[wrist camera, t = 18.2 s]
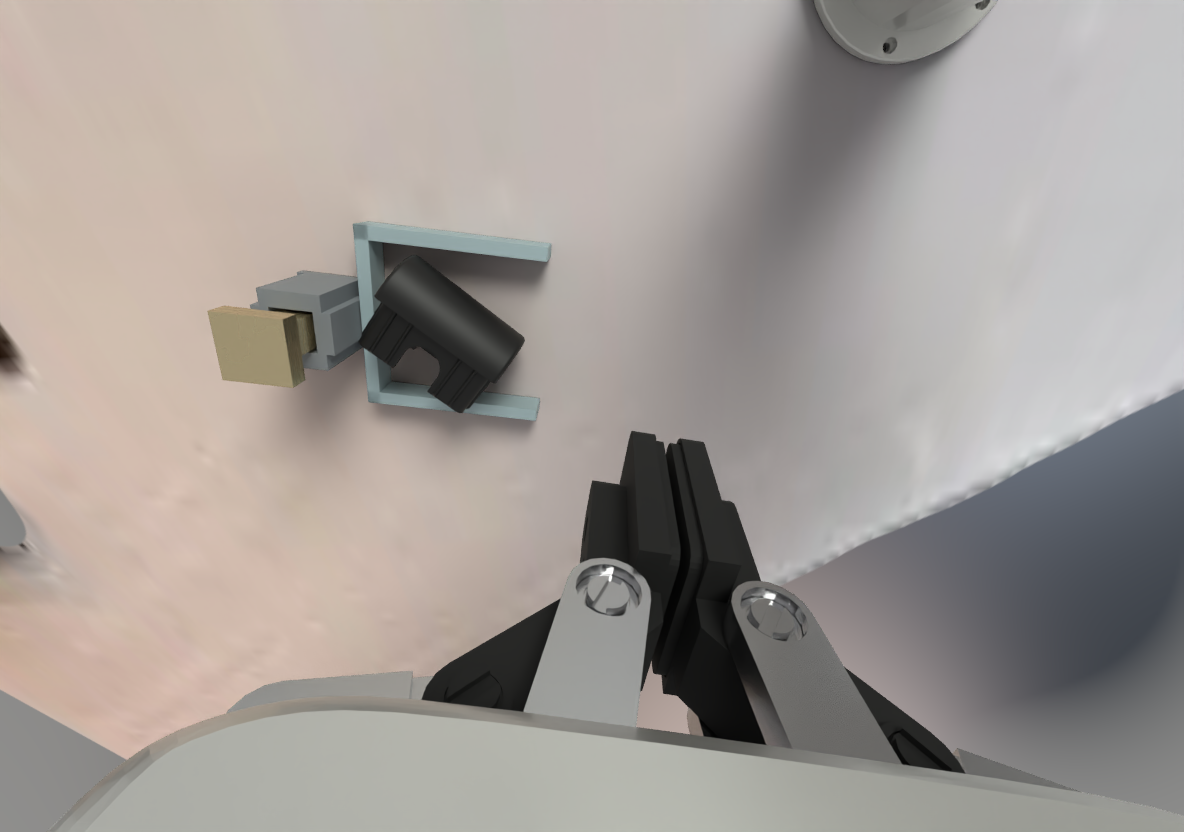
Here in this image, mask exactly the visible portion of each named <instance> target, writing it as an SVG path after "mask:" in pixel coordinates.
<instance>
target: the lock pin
mask: <svg viewBox="0 0 1184 832" xmlns="http://www.w3.org/2000/svg"><path fill="white" fill-rule="evenodd" d="M208 315H209V320H210V324H211V329H212V334H213V338H214V343H215V347H216V352H217V356H218V361H219V365H220V370H221V374H222V379H223V380H228V381H236V382H245V383H254V384H263V385H272V386H281V387H290V388H294V387H295V386H297V385H298V384H300V383H301V382H303V381H304V380H305V374H304V367H303V360H302V355H304V354H306V353H307V352H309V351H311V350H313V349H314V348H316V347H317V344H316V336H315V329H314V321H313V313H312V312H308V311H299V310H290V309H282V308H281V309H279V310H276V311H265V310H257V309H248V308H239V307H231V306H221V307H218V308H215V309H212V310H209V311H208Z"/></svg>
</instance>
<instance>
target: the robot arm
mask: <svg viewBox="0 0 1184 832" xmlns="http://www.w3.org/2000/svg"><path fill="white" fill-rule="evenodd" d="M997 1H998V0H814V4H815V8H816V10H817V12H818V14H819V16H820V19H821V21H822V23H823V25H824V27H825V28H826V30H827V31H828V32H829V34H830V35H831V36H832V38H833V39H834V40H835V42H836V43H838V44H839V45H840V46H841V47H842V48H844V49H845V50H846V51H847V52H848V53H850V54H852V55H854V56H856V57H858V58H860V59H863V60H865V61H869V62H874V63H879V64H902V63H905V62H909V61H913V60H917V59H921V58H923V57H926V56H928V55H930V54H933V53H936V52H938V51H940V50H942V49H943V48H945V47H947V46H949V45H950V44H952V43H954V42H955V41H957V40H959V39H960V38H961V37H962V36H963V35H965V34H966V33H967V32H968V31H970V30H971V29H972V28H973V27H975V26H976V25H977V24H978V23H979V22H980V21H981V20H982V19H983V18H984V17H985V16H986V15H987V14H988V12H989V11H990V10H991V9H992V8H993V7H994V5H995V4H996V2H997ZM975 4H976V7H975ZM883 44H884V45H886V51H885V53H884V51H883ZM651 660H652V668H653V673H654V674H659V675H662V685H663V693H664V694H670V695H676V696H678V697H679V698H680V699H681V700H682V701H683V702H684V703H685V704H686V705H687V706H688V707H689V708H688V713H687V720H688V728H689V732H690V734H683V733H676V732H668V731H661V730H653V729H645V728H638V727H636V721H637V714H638V704H639V697H640V691H642V689H643V686H644V683H645V679H646V676H647V673H648V669H649V667H650V663H651ZM47 832H1184V816H1182V815H1178V814H1175V813H1171V812H1168V811H1164V810H1160V809H1157V808H1153V807H1150V806H1145V805H1141V804H1136V803H1131V802H1126V801H1122V800H1117V799H1112V798H1108V797H1103V796H1098V795H1094V794H1088V793H1082V792H1080V791H1077V790H1074V789H1071V788H1068V787H1065V786H1063V785H1060V784H1057V783H1054V782H1052V781H1049V780H1045V779H1043V778H1040V777H1037V776H1035V775H1032V774H1029V773H1026V772H1023V771H1021V770H1018V769H1015V768H1012V767H1009V766H1006V765H1004V764H1001V763H998V762H995V761H992V760H990V759H987V758H984V757H981V756H978V755H975V754H973V753H970V752H967V751H964V750H961V749H958V748H957V749H956V750H955V751H954V752H953V753H951V752H950V750H949V749H948V748H947V747H946V746H945V745H944V744H943V743H942V742H941V741H940V740H939V739H938V738H936V737H935V736H934V735H933V734H932V733H931V732H930V731H928V730H927V729H926V728H924V727H923V726H922V725H920V724H919V723H918V722H916V721H915V720H914V719H912V718H911V717H910V716H908V715H907V714H906V713H904V712H903V711H902V710H900V709H899V708H898V707H897V706H895V705H894V704H892V703H891V702H890V701H888V700H887V699H886V698H885V697H883V696H882V695H881V694H879V693H878V692H877V691H875V690H874V689H873V688H871V687H870V686H869V685H867V684H866V683H865V682H863V681H862V680H861V679H859V678H858V677H857V676H856V675H854V674H853V673H851V672H850V671H849V670H848V669H846V668H845V667H844V666H843V664H842V663H841V661H840V659H839V658H838V656H837V654H836V653H835V651H834V649H833V648H832V646H831V644H830V643H829V641H828V639H827V638H826V636H825V634H824V633H823V631H822V629H821V628H820V626H819V624H818V623H817V621H816V619H815V617H814V616H813V614H812V613H811V612H810V610H809V609H808V608H807V606H806V605H805V604H804V603H803V602H802V601H801V600H800V599H799V598H797V597H796V596H795V595H794V594H792V593H791V592H789V591H787V590H786V589H784V588H782V587H780V586H777V585H774V584H772V583H769V582H762V581H761V580H760V577H759V574H758V571H757V568H756V565H755V562H754V559H753V556H752V553H751V550H750V547H749V544H748V541H747V539H746V536H745V533H744V530H743V527H742V524H741V521H740V518H739V515H738V512H737V509H736V507H735V505H734V503H732V502H730V501H724V500H722V499H721V496H720V493H719V490H718V486H717V483H716V480H715V477H714V473H713V470H712V467H711V464H710V460H709V457H708V454H707V451H706V447H705V444H704V442H699V441H693V440H686V439H679V440H678V442H677V444H673V443H670V444H669V445H668V448H667V452H666V454H665V448H664V443H663V442H660V441H656V436H655V435H654V434H648V433H641V432H635V431H632V432H631V434H630V438H629V442H628V447H627V452H626V456H625V461H624V466H623V471H622V475H621V480H620V485H619V484H612V483H606V482H599V481H592V484H591V489H590V494H589V500H588V505H587V511H586V517H585V524H584V531H583V538H582V548H581V558H580V564H579V565H577V566H576V567H575V568H574V569H573V570H572V571H571V573H570V575H569V577H568V579H567V582H566V585H565V588H564V591H563V594H562V597H561V599H559V600H557V601H555V602H554V603H552V604H550V605H548V606H547V607H545V608H543V609H542V610H540V611H538V612H536V613H535V614H533V615H531V616H530V617H528V618H526V619H524V620H523V621H521V622H519V623H517V624H516V625H514V626H512V627H511V628H509V629H507V630H505V631H504V632H502V633H500V634H499V635H497V636H495V637H493V638H492V639H490V640H488V641H486V642H485V643H483V644H481V645H480V646H478V647H476V648H474V649H473V650H471V651H469V652H468V653H466V654H464V655H462V656H461V657H459V658H457V659H455V660H454V661H452V662H450V663H449V664H447V665H446V666H445V667H443V668H442V669H441V670H440V671H438V672H437V673H436V674H435V675H434V676H430V677H418V678H413V671H404V672H391V673H379V674H366V675H353V676H340V677H327V678H314V679H302V680H289V681H281V682H277V683H273V684H268V685H264V686H262V687H261V688H259V689H257V690H255V691H253V692H251V693H249V694H247V695H245V696H244V697H243V698H242V699H241V700H240V701H238V702H237V703H236V704H235V705H234V706H233V707H232V708H230V709H229V710H228V712H227V713H226V714H223V715H220V716H217V717H214V718H211V719H207V720H204V721H201V722H199V723H196V724H194V725H191V726H188V727H186V728H183V729H181V730H178V731H176V732H174V733H172V734H170V735H168V736H166V737H164V738H162V739H160V740H158V741H156V742H154V743H152V744H150V745H149V746H147V747H145V748H144V749H142V750H141V751H139V752H138V753H136V754H135V755H133V756H132V757H131V758H129V759H128V760H126V761H125V762H124V763H122V764H121V765H119V766H118V767H117V768H115V769H114V770H113V771H112V772H110V773H109V774H108V775H107V776H105V777H104V778H103V779H102V780H101V781H100V782H99V783H98V784H97V785H95V786H94V787H93V788H92V789H91V790H90V791H89V792H87V793H86V794H85V795H84V796H83V797H82V798H81V799H80V800H78V801H77V802H76V803H75V804H74V805H73V806H72V807H71V808H70V809H69V810H68V811H67V812H66V813H65V814H64V815H63V816H62V817H61V818H60V819H59V820H58V821H57V822H56V823H55V824H54V825H53V826H52V827H51V828H50V829H49V830H48V831H47Z"/></svg>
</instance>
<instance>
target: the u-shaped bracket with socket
mask: <svg viewBox="0 0 1184 832" xmlns="http://www.w3.org/2000/svg"><path fill="white" fill-rule="evenodd" d="M353 231H354V242H355V253H356V265H357V276H358V277H353V276H344V275H336V274H327V273H319V272H310V271H299V272H297V276H294V277H291V278H287V279H284V280H281V281H277V282H274V283H271V284H268V285H264V286H261V287H258V288H256V292H257V297H258V302H257V303H254V304H251V305H250V307H251V309H257V310H265V311H276V310H279V309H281V308H282V309H290V310H299V311H308V312H312V313H313V321H314V329H315V336H316V344H317V347H316V348H314V349H313V350H311V351H309V352H307V353H306V354H304V355H302V360H303V367H304V368H309V369H318V370H327V371H328V370H330V369H331V368H333V367H334V366H336V365H337V364H339V363H340V362H342V361H343V360H345V359H346V358H347V357H349V356H350V355H352V354H353V353H355V352H356V351H358V350H359V349H361V348H362V346H361V345H360V344H359V339H360V338H361V336H362V332H363V330H364V329H365V327H366V325H367V324H368V322H369V321H370V319H371V318H372V316H373V314H374V313H375V311H376V310H377V308H378V306H379V305H380V303H381V302H380V301H379V300H377V299H376V298H375V296H374V295H375V294H376V292H377V291H378V289H379V288H380V286H381V285H382V284H383V282H384V281H385V274H384V258H383V243H382V242H386V243H395V244H403V245H411V246H420V247H428V248H436V249H444V250H453V251H461V252H469V253H478V254H486V255H494V256H502V257H511V258H519V259H527V260H535V261H544V262H547V261H548V260H549V258H550V256H551V244H550V243H541V242H533V241H525V240H517V239H508V238H500V237H492V236H484V235H476V234H467V233H459V232H451V231H443V230H435V229H426V228H418V227H410V226H402V225H394V224H385V223H377V222H369V221H367V222H361V223H355V224H353ZM364 356H365V368H366V379H367V391H368V402H372V403H381V404H390V405H399V406H408V407H417V408H426V409H435V410H444V411H453V412H456V411H454V410H453V409H451V408H450V407H448V406H447V405H446V404H444V403H443V402H441V401H440V400H438V399H437V398H435V397H434V396H433V395H431V394H430V393H428V392H427V391H428V389H429V388H430V387H431V386H427V385H418V384H409V383H401V382H392V381H391V367H390V366H389V365H388V364H386V363H385V362H383V361H382V360H380V359H379V358H378V357H376V356H375V355H373V354H372V353H370V352H369V351H367V350H366V349H365V348H364ZM539 404H540V398H533V397H524V396H516V395H507V394H498V393H489V392H482V393H481V395H480V396H479V397H478V398H477V400H476V401H475V402H474V403H473V405H472V406H471V407H470V408H469V409H465V411H464V412H463V413H470V414H479V415H488V416H497V417H506V418H515V419H524V420H533V421H536V418H537V414H538V411H539Z"/></svg>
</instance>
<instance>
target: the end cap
mask: <svg viewBox="0 0 1184 832" xmlns="http://www.w3.org/2000/svg"><path fill="white" fill-rule="evenodd" d="M374 296H375V298H376V299H377V300H379V301H380V302H381V303H380V305H379V306H378V308H377V310H376V311H375V313H374V314H373V316H372V318H371V319H370V321H369V322H368V324H367V325H366V327H365V329H364V330H363V332H362V336H361V338H360V339H359V344H360V345H361V346H362V347H363V348H365V349H366V350H367V351H369V352H370V353H372V354H373V355H375V356H376V357H378V358H379V359H380V360H382V361H383V362H385V363H386V364H388V365H389V366H391V367H392V368H394V367H395V366H396V364H397V363H398V361H399V360H400V358H401V357H402V355H403V354H404V352H405V351H406V350H407V349H409V348H412V349H413V350H414V349H415V348H416V347H421V348H422V349H424V350H425V351H426V352H428V353H429V354H431V355H432V356H433V357H435V358H436V359H438V361H439V364H440V372H439V375H438V377H437V378H436V380H435V381H434V383H433V384H432V385H431V387H430V388H429V389H428V391H427V392H428V393H430V394H431V395H433V396H434V397H435V398H437V399H438V400H440V401H441V402H443V403H444V404H446V405H447V406H448V407H450V408H451V409H453V410H454V411H456V412H458V413H463V412H464V411H465V409H469V408H470V407H471V406H472V405H473V403H474V402H475V401H476V400H477V398H478V397H479V396H480V395H481V393H482V392H483V391H484V389H485V388H486V387H487V386H488V384H489V383H490V382H492V383H496V382H497V381H498V379H499V378H500V377H501V375H502V374H503V373H504V371H505V370H506V369H507V367H508V366H509V365H510V363H511V362H512V360H513V359H514V358H515V356H516V355H517V353H518V352H519V350H520V349H521V347H522V345H523V343H524V341H525V339H524V337H523V336H522V335H521V334H519V333H518V332H517V331H515V330H514V329H513V328H511V327H510V326H509V325H508V324H506V323H505V322H504V321H502V320H501V319H500V318H498V317H497V316H496V315H495V314H493V313H492V312H491V311H489V310H488V309H487V308H485V307H484V306H483V305H482V304H480V303H479V302H478V301H476V300H475V299H474V298H472V297H471V296H470V295H469V294H467V293H466V292H465V291H463V290H462V289H461V288H459V287H458V286H457V285H456V284H454V283H453V282H452V281H450V280H449V279H448V278H446V277H445V276H444V275H443V274H441V273H440V272H439V271H437V270H436V269H435V268H433V267H432V266H431V265H430V264H428V263H427V262H426V261H424V260H423V259H422V258H420V257H419V256H417V255H412V256H410V257H408V258H406V259H405V260H404V261H403V262H401V263H400V264H399V265H398V266H397V267H396V268H395V269H394V270H393V272H392V273H391V274H390V275H389V276H388V277H387V279H386V280H385V281H384V282H383V284H382V285H381V286H380V288H379V289H378V291H377V292H376V294H375V295H374Z"/></svg>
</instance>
